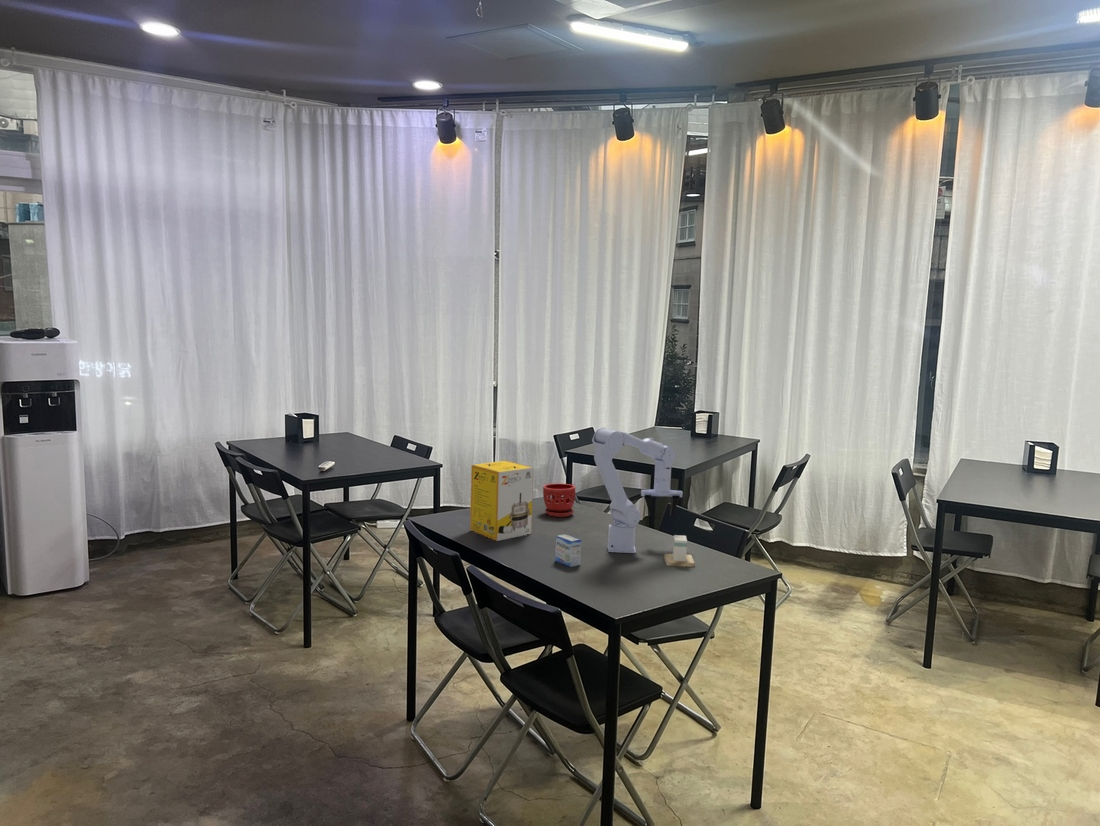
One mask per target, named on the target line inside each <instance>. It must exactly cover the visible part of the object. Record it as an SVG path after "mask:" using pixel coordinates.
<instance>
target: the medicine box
mask: <svg viewBox="0 0 1100 826" xmlns="http://www.w3.org/2000/svg"><path fill="white" fill-rule="evenodd" d="M554 552H555V553H554V554H555V557H554V561H555V562H556V563H559V564H562V565H564V566H567V567H570V568H573V567H577V566H580V565H581V555H582V554H581V553H582V539H579V538H576V537H575V536H571V535H568V534H565V533H564V534H559V535H556V537H555V551H554Z"/></svg>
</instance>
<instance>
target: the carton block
mask: <svg viewBox="0 0 1100 826" xmlns="http://www.w3.org/2000/svg"><path fill="white" fill-rule="evenodd" d="M672 540H673V542H672V543H673V544H672V545H673V547H672V554H673V559H674V561H685V562H686V555H687V549H688V539H687V535H677V534H673V539H672Z"/></svg>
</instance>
